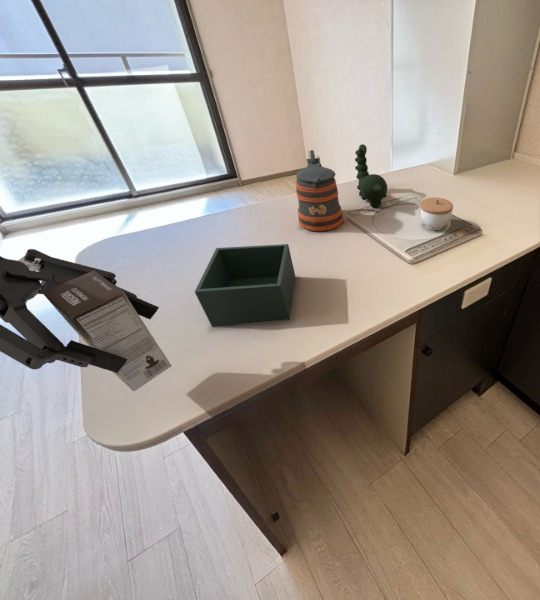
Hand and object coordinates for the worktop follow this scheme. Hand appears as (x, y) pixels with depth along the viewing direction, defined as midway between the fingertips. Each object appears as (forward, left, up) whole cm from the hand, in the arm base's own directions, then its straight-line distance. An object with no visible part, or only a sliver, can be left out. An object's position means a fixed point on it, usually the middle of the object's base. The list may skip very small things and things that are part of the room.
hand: (140, 337), depth 50 cm
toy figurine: (+43, +79, -14) cm, 91 cm away
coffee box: (-3, 0, -7) cm, 7 cm away
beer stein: (+24, +65, -14) cm, 71 cm away
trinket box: (+62, +56, -14) cm, 85 cm away
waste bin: (+10, +24, -14) cm, 30 cm away
